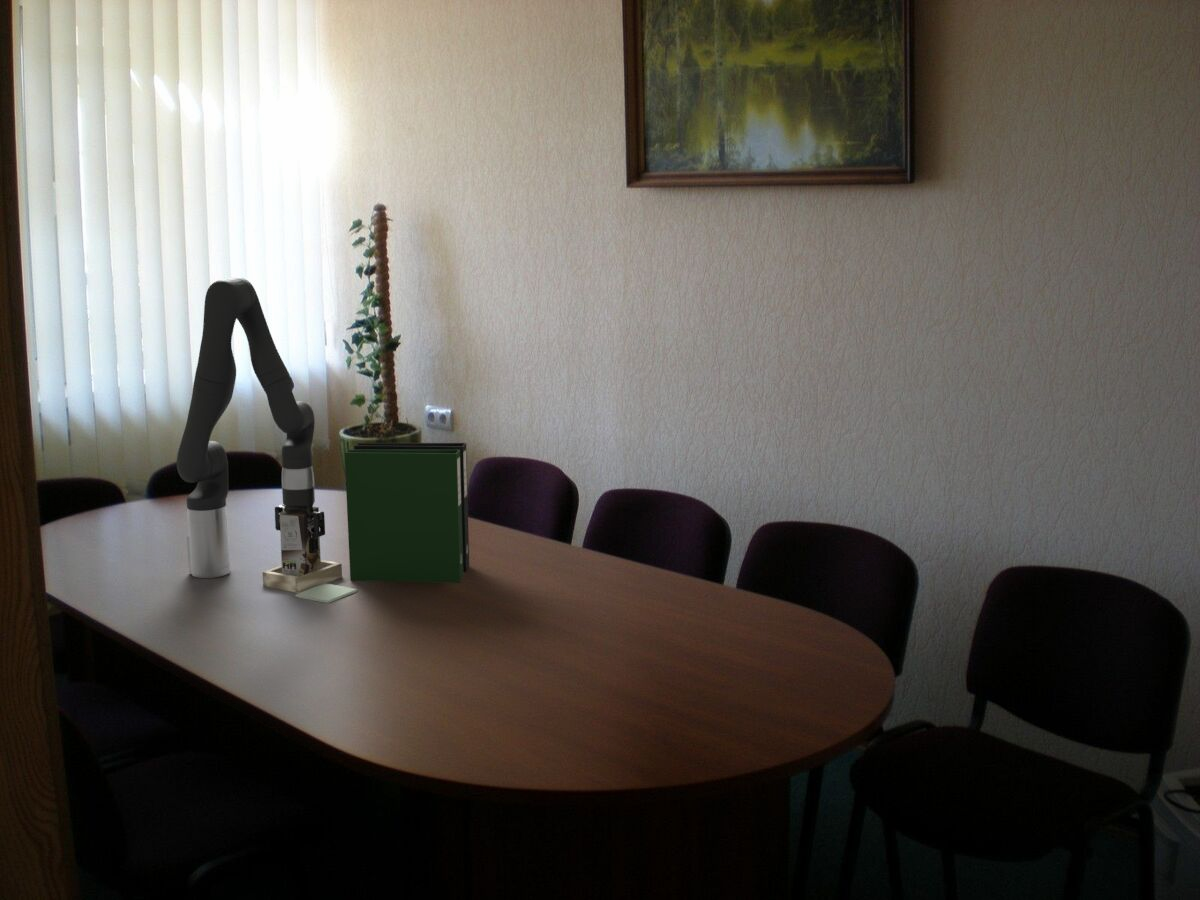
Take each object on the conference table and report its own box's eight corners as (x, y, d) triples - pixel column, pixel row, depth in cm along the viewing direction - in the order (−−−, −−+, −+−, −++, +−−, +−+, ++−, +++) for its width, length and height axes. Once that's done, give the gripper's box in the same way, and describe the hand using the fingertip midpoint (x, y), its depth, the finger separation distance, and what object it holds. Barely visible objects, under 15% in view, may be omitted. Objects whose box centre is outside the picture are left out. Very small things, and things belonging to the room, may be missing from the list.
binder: (349, 581, 289) (343, 453, 283) (364, 564, 303) (359, 441, 297) (460, 583, 287) (456, 453, 281) (469, 565, 302) (466, 442, 296)
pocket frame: (263, 585, 286) (262, 572, 285) (306, 570, 298) (305, 557, 298) (299, 593, 280) (299, 578, 279) (342, 576, 293) (341, 563, 292)
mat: (295, 596, 277) (295, 594, 277) (324, 585, 286) (324, 583, 286) (328, 603, 272) (327, 600, 272) (356, 591, 281) (356, 589, 281)
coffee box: (306, 580, 284) (303, 515, 281) (281, 579, 285) (278, 514, 282) (322, 569, 293) (319, 506, 290) (298, 568, 294) (295, 505, 291)
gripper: (264, 484, 285) (268, 550, 288) (309, 491, 278) (312, 558, 281) (286, 478, 291) (289, 542, 294) (331, 485, 284) (334, 550, 288)
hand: (301, 550), depth 288 cm, fingers closed on coffee box, 7 cm apart
